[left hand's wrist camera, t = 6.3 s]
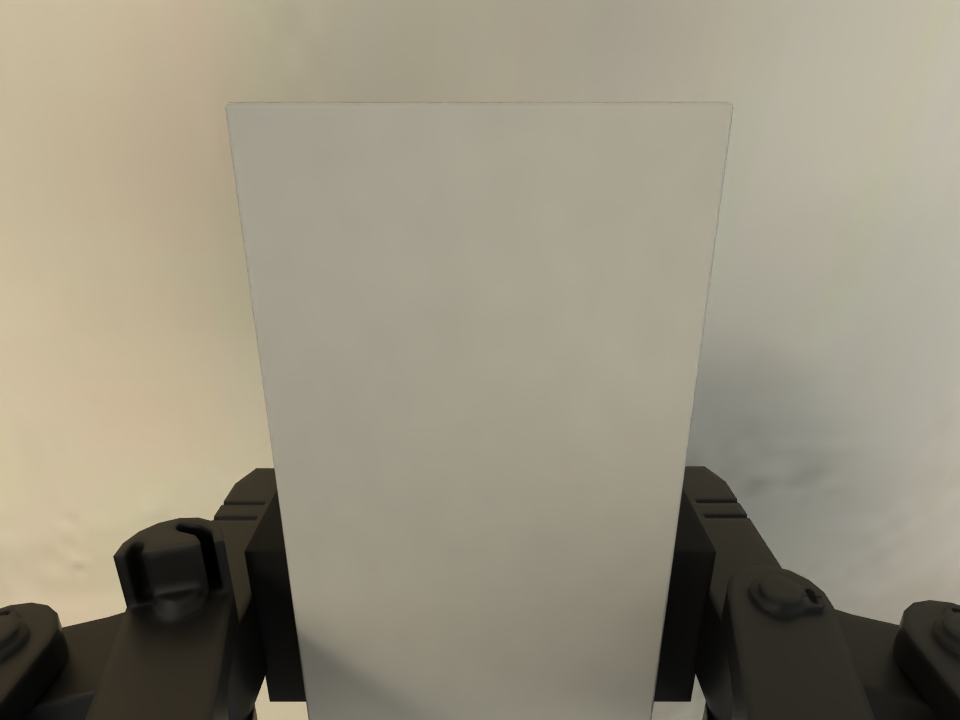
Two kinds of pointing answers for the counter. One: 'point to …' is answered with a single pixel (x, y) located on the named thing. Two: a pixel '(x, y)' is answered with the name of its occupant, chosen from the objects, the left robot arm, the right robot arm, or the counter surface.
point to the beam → (479, 390)
